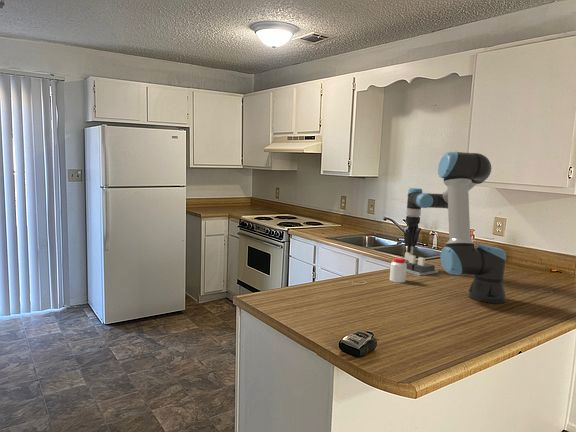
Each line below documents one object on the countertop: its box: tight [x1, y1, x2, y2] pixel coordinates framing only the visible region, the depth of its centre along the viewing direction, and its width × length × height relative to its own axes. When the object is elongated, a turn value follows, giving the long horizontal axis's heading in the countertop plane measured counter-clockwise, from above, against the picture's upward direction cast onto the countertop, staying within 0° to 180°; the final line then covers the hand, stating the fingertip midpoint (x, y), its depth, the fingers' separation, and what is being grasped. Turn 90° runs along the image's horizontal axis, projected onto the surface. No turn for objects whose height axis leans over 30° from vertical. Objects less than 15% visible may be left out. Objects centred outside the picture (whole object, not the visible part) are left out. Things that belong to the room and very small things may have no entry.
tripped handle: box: [403, 251, 411, 261], centre depth 244 cm, size 3×2×4 cm, turn 35°
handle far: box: [417, 256, 426, 266], centre depth 232 cm, size 3×2×4 cm, turn 36°
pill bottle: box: [389, 257, 407, 284], centre depth 215 cm, size 8×8×11 cm
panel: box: [405, 260, 439, 277], centre depth 239 cm, size 18×16×4 cm
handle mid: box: [409, 254, 417, 264], centre depth 237 cm, size 3×2×4 cm, turn 36°
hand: (409, 257), depth 245 cm, fingers closed
